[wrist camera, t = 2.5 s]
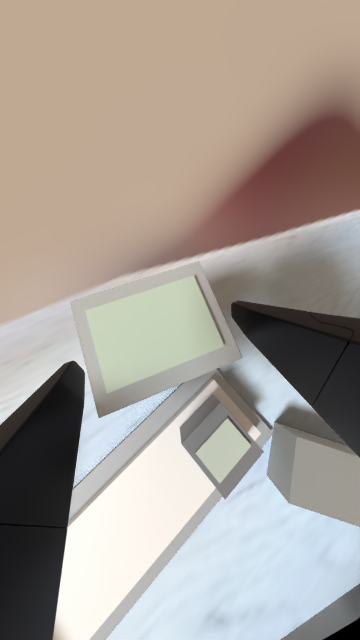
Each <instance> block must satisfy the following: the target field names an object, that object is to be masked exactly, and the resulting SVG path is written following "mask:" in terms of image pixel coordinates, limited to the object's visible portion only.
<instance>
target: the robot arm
mask: <svg viewBox="0 0 360 640" xmlns="http://www.w3.org/2000/svg"><path fill="white" fill-rule="evenodd" d="M231 315H232V318H233V319H234V321H235V322H236V323H237V325H238V326H239V327H240V329H241V330H242V331H243V333H244V334H245V335H246V337H247V338H248V339H249V340H250V341H251V342H252V343H253V344H254V345H255V346H256V348H257V349H258V350H259V351H260V352H261V353H262V354H263V355H264V356H265V357H266V358H267V359H268V360H269V361H270V363H271V364H272V365H273V366H274V367H275V368H276V369H277V370H278V371H279V372H280V373H281V374H282V375H283V376H284V378H285V379H286V380H287V381H288V382H289V383H290V384H291V385H292V386H293V387H294V388H295V389H296V390H297V391H298V392H299V394H300V395H301V396H302V397H303V398H304V399H305V400H306V401H307V402H308V403H309V404H310V405H311V406H312V408H313V409H314V410H315V411H316V412H317V413H318V414H319V415H320V416H321V417H322V418H323V419H324V420H325V422H326V423H327V424H328V425H329V426H330V427H331V428H332V429H333V430H334V431H335V432H336V433H337V434H338V435H339V436H340V438H341V439H342V440H343V441H344V442H345V443H346V444H347V445H348V446H349V447H350V448H351V449H352V450H353V451H354V453H355V454H356V455H357V456H358V457H359V458H360V318H351V317H343V316H335V315H327V314H320V313H314V312H307V311H301V310H295V309H288V308H282V307H276V306H269V305H263V304H257V303H250V302H244V301H236V302H233V303H232V304H231ZM84 395H85V373H84V370H83V369H82V368H81V367H80V366H79V365H78V364H77V363H76V362H75V361H70V362H67V363H65V364H63V365H62V366H61V367H60V368H59V369H58V370H57V371H56V372H55V373H54V374H53V375H52V376H51V377H50V378H49V379H48V380H47V381H46V382H45V383H44V384H43V385H42V386H41V387H40V388H38V389H37V390H36V391H35V392H34V393H33V394H32V395H31V396H30V397H29V398H28V399H27V400H26V401H25V402H24V403H23V404H22V405H21V406H20V407H19V408H18V409H17V410H16V411H15V412H13V413H12V414H11V415H10V416H9V417H8V418H7V419H6V420H5V421H4V422H3V423H2V424H1V425H0V640H53V634H54V627H55V619H56V612H57V604H58V597H59V589H60V582H61V574H62V567H63V559H64V552H65V544H66V537H67V527H68V521H69V513H70V506H71V498H72V491H73V483H74V476H75V468H76V461H77V453H78V446H79V438H80V431H81V423H82V416H83V408H84ZM281 640H360V584H359V585H357V586H356V587H354V588H353V589H352V590H350V591H349V592H347V593H346V594H345V595H343V596H342V597H340V598H339V599H337V600H336V601H335V602H333V603H332V604H330V605H329V606H328V607H326V608H325V609H323V610H322V611H321V612H319V613H318V614H316V615H315V616H313V617H312V618H311V619H309V620H308V621H306V622H305V623H304V624H302V625H301V626H299V627H298V628H296V629H295V630H294V631H292V632H291V633H289V634H288V635H287V636H285V637H284V638H282V639H281Z"/></svg>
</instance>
